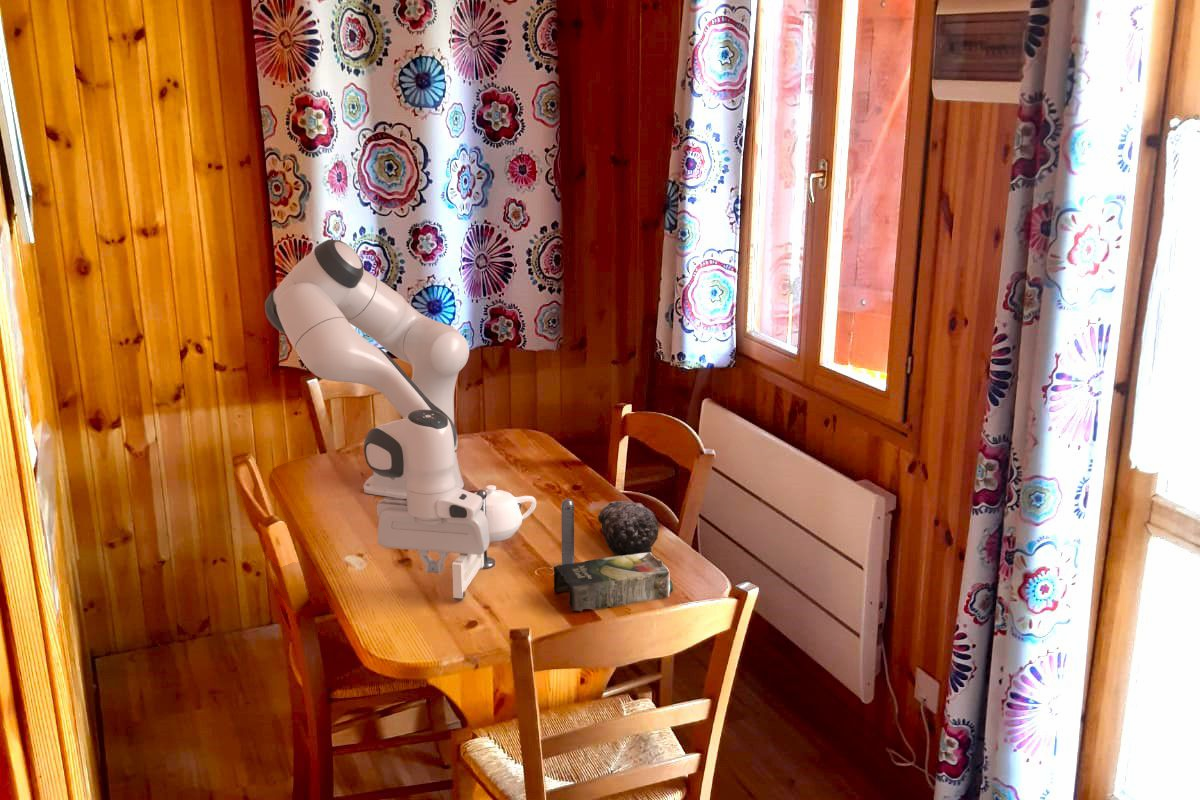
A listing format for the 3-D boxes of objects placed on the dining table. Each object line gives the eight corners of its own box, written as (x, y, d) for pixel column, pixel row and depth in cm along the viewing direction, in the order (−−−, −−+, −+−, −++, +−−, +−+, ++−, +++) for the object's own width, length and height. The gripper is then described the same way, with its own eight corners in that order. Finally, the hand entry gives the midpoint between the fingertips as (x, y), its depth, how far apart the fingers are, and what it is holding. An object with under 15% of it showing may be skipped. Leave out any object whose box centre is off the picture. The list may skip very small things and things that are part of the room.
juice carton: (653, 575, 205) (654, 545, 203) (676, 598, 196) (676, 567, 194) (552, 594, 198) (552, 563, 196) (571, 618, 189) (571, 586, 187)
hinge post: (469, 568, 207) (466, 493, 203) (475, 558, 211) (473, 484, 207) (491, 570, 206) (489, 494, 202) (497, 560, 211) (495, 486, 206)
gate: (475, 567, 207) (473, 532, 205) (485, 568, 206) (484, 533, 204) (452, 601, 193) (451, 563, 191) (463, 602, 193) (462, 564, 191)
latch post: (560, 567, 208) (560, 500, 204) (563, 562, 210) (562, 496, 206) (573, 568, 207) (572, 501, 203) (575, 563, 209) (575, 497, 206)
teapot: (447, 551, 215) (446, 503, 212) (435, 528, 226) (433, 482, 223) (545, 538, 221) (544, 491, 218) (528, 516, 232) (527, 471, 230)
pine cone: (627, 525, 228) (627, 480, 225) (667, 558, 212) (668, 510, 209) (581, 533, 223) (581, 488, 221) (619, 567, 208) (620, 518, 205)
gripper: (369, 503, 193) (374, 574, 197) (481, 511, 190) (483, 583, 194) (382, 490, 199) (386, 560, 203) (490, 498, 196) (492, 568, 200)
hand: (434, 571), depth 199 cm, fingers closed
